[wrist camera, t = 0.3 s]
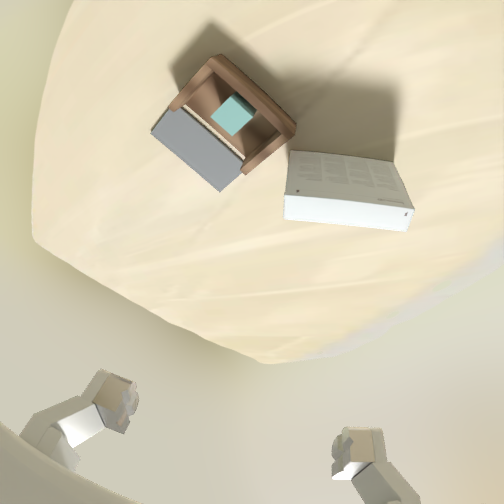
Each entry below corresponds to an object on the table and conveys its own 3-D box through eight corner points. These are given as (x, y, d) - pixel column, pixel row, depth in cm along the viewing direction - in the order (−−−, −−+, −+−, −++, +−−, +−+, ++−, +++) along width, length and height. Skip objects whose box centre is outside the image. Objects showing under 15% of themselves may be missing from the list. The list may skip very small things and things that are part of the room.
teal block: (239, 88, 46) (230, 96, 41) (259, 106, 48) (252, 117, 43) (221, 106, 49) (210, 116, 44) (240, 123, 51) (232, 136, 46)
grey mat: (175, 102, 50) (173, 102, 50) (248, 166, 58) (247, 167, 58) (151, 132, 56) (150, 133, 55) (220, 190, 63) (219, 192, 63)
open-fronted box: (221, 54, 43) (210, 57, 38) (296, 123, 50) (294, 135, 45) (181, 98, 50) (167, 107, 45) (251, 160, 57) (245, 175, 52)
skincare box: (288, 173, 58) (281, 220, 46) (289, 149, 54) (282, 190, 43) (389, 185, 55) (407, 233, 43) (394, 161, 51) (416, 206, 40)
